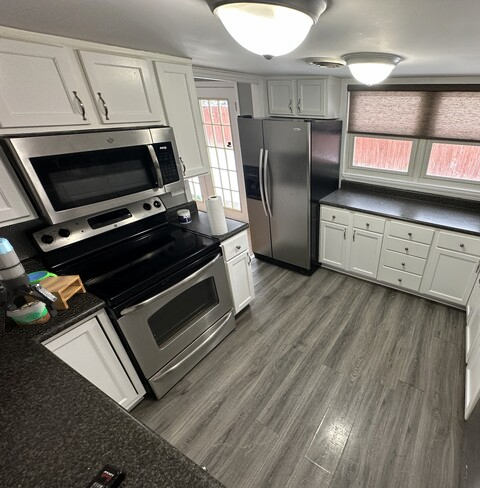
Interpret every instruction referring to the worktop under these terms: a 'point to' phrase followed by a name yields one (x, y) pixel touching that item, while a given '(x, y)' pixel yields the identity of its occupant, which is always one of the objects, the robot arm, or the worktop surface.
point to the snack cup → (39, 276)
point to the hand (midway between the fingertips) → (36, 317)
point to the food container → (30, 313)
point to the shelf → (61, 289)
